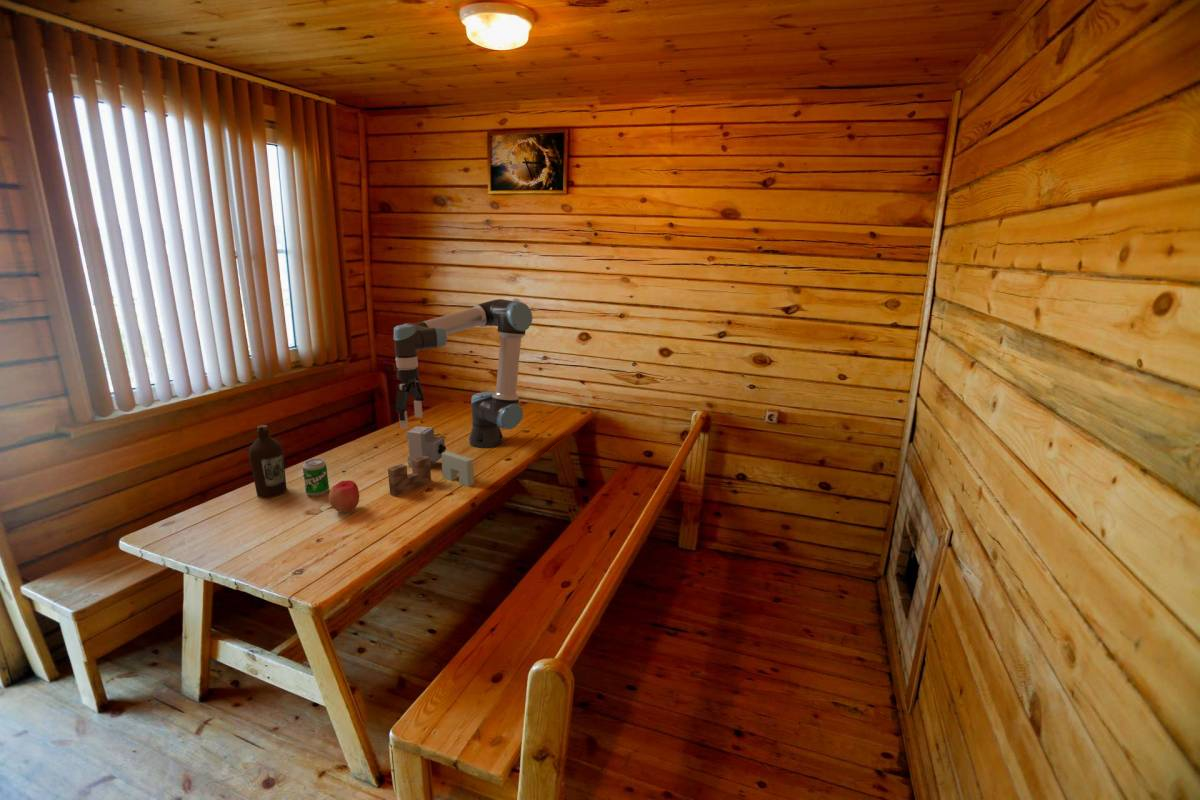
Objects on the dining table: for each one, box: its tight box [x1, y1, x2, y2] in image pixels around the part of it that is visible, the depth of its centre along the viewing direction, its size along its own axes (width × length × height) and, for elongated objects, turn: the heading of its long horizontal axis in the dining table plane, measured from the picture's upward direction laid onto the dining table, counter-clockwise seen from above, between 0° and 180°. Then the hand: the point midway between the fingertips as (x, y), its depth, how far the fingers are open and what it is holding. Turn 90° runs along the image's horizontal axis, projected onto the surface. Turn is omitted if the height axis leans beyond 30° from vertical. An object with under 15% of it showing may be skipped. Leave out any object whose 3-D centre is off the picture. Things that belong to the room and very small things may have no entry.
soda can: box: [302, 458, 330, 497], centre depth 206 cm, size 8×8×12 cm
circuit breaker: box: [405, 426, 447, 469], centre depth 232 cm, size 8×14×15 cm, turn 78°
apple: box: [328, 480, 360, 513], centre depth 193 cm, size 10×10×10 cm
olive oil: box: [248, 424, 288, 499], centre depth 204 cm, size 11×11×25 cm
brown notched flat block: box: [387, 456, 432, 497], centre depth 211 cm, size 16×3×10 cm, turn 145°
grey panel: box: [441, 450, 475, 487], centre depth 218 cm, size 14×3×10 cm, turn 55°
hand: (411, 422), depth 217 cm, fingers open, 13 cm apart
